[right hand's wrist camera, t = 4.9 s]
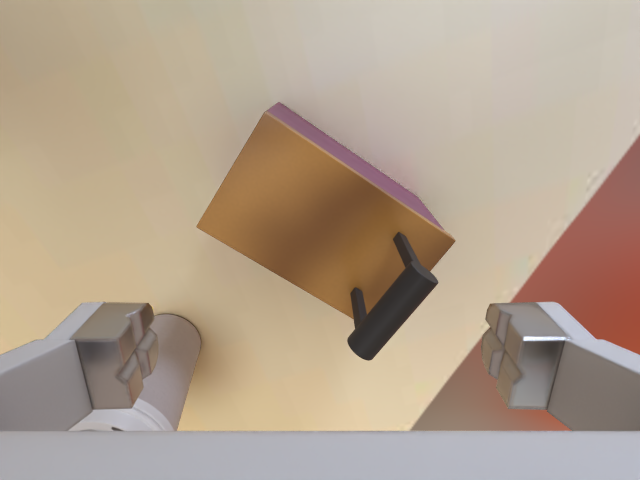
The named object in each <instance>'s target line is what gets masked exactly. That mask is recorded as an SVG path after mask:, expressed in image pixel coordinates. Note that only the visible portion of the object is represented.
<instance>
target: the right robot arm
mask: <svg viewBox="0 0 640 480" xmlns="http://www.w3.org/2000/svg"><path fill="white" fill-rule="evenodd" d="M153 321H154V314H153V310H152V307H151V306H150V304H149V303H120V302H107V303H106V302H86V303H81V304H80V305H79V306H78V307H77V308H76V309H75V310H74V311H73V312H72V313H71V314H70V315H69V316H68V317H67V318H66V319H65V320H64V321H63V322H61V323H60V324H59V325H58V326H57V327H56V328H55V329H54V330H53V331H52V332H51V333H50V334H49V335H48V336H47V337H46V338H45V339H44V340H35V341H32V342H30V343H27V344H25V345H23V346H20V347H18V348H16V349H13V350H11V351H8V352H6V353H4V354H1V355H0V480H640V355H639V354H636V353H634V352H632V351H629V350H627V349H624V348H622V347H620V346H617V345H615V344H612V343H610V342H608V341H605V340H596V339H595V338H594V337H593V336H592V335H591V334H590V333H589V332H588V331H587V330H586V329H585V328H584V327H583V326H582V325H581V324H580V323H579V322H578V321H576V320H575V319H574V318H573V317H572V316H571V315H570V314H569V313H568V312H567V311H566V310H565V309H564V308H563V307H562V306H561V305H560V304H558V303H555V302H529V303H494V304H490V305H489V307H488V309H487V314H486V321H487V322H488V324H489V325H490V328H489V329H488V330H487V331H486V332H485V333H484V334H483V337H482V345H481V350H482V359H483V363H484V366H485V368H486V370H487V372H488V374H489V375H491V376H493V377H494V378H496V379H497V386H496V388H497V390H498V392H499V393H500V395H501V397H502V399H503V400H504V402H505V404H506V405H507V407H508V409H538V410H547V412H548V413H550V414H551V415H552V416H554V417H555V418H556V419H558V420H559V421H560V422H562V423H563V424H564V425H565V426H567V427H568V428H569V429H571V430H572V431H68V430H69V429H71V428H72V427H73V426H75V425H76V424H77V423H79V422H80V421H81V420H83V419H84V418H85V417H87V416H88V415H89V414H90V413H92V412H93V410H103V409H132V407H133V406H134V404H135V402H136V400H137V399H138V397H139V395H140V393H141V392H142V390H143V388H144V386H143V379H144V378H146V377H148V376H149V375H151V374H152V372H153V370H154V368H155V366H156V363H157V358H158V354H159V343H158V337H157V334H156V333H155V332H154V331H153V330H152V329H151V328H150V325H151V324H152V322H153Z"/></svg>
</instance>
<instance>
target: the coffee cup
mask: <svg viewBox="0 0 640 480" xmlns="http://www.w3.org/2000/svg"><path fill="white" fill-rule="evenodd" d="M150 328H151V329H152V330H153V331H154V332H155V333H156V334H157V337H158V343H159V354H158V358H157V363H156V366H155V368H154V370H153V372H152V374H151V375H149V376H148V377H146V378H144V379H143V386H144V388H143V390H142V392H141V393H140V395H139V397H138V399H137V400H136V402H135V404H134V406H133V407H132V409H103V410H93V412H92V413H90V414H89V415H88V416H87V417H85V418H84V419H83V420H81V421H80V422H79V423H77V424H76V425H75V426H73V427H72V428H71V429H69V430H68V431H177V428H178V425H179V421H180V418H181V414H182V411H183V407H184V404H185V400H186V397H187V393H188V390H189V386H190V383H191V379H192V376H193V372H194V369H195V365H196V362H197V359H198V355H199V352H200V348H201V339H200V336H199V333H198V331H197V330H196V328H195V327H194V326H193V325H192V324H191V323H190V322H188V321H187V320H185V319H183V318H181V317H179V316H176V315H170V314H162V315H157V316H154V321H153V322H152V324H151V325H150Z"/></svg>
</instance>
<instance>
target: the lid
mask: <svg viewBox="0 0 640 480" xmlns="http://www.w3.org/2000/svg"><path fill="white" fill-rule="evenodd" d="M197 228H199V229H201V230H202V231H204V232H206V233H207V234H209V235H211V236H212V237H214V238H216V239H218V240H219V241H221V242H223V243H224V244H226V245H228V246H230V247H231V248H233V249H235V250H236V251H238V252H240V253H242V254H243V255H245V256H247V257H248V258H250V259H252V260H253V261H255V262H257V263H259V264H260V265H262V266H264V267H265V268H267V269H269V270H271V271H272V272H274V273H276V274H277V275H279V276H281V277H283V278H284V279H286V280H288V281H289V282H291V283H293V284H294V285H296V286H298V287H300V288H301V289H303V290H305V291H306V292H308V293H310V294H312V295H313V296H315V297H317V298H318V299H320V300H322V301H324V302H325V303H327V304H329V305H330V306H332V307H334V308H335V309H337V310H339V311H341V312H342V313H344V314H346V315H347V316H349V317H351V318H353V319H354V324H355V330H354V331H353V332H352V334H351V335H350V336H349V337H348V340H347V341H348V344H349V346H350V348H351V349H352V351H353V352H354V353H355V354H357V355H358V356H359V357H361V358H362V359H365V360H372V359H373V358H374V357H375V355H376V354H377V353H378V352H379V351H380V350H381V349H382V347H383V346H384V345H385V344H386V343H387V342H388V340H389V339H390V338H391V337H392V336H393V335H394V334H395V332H396V331H397V330H398V329H399V328H400V327H401V325H402V324H403V323H404V322H405V321H406V320H407V319H408V317H409V316H410V315H411V314H412V313H413V312H414V310H415V309H416V308H417V307H418V306H419V305H420V304H421V302H422V301H423V300H424V299H425V298H426V297H427V295H428V294H429V293H430V292H431V291H432V290H433V289H434V287H435V286H436V285H437V284H438V280H437V279H436V277H435V276H434V275H433V274H432V273H431V272H430V271H431V269H432V268H433V267H434V266H435V265H436V264H437V262H438V261H439V260H440V259H441V258H442V257H443V255H444V254H445V253H446V252H447V251H448V249H449V248H450V247H451V246H452V245H453V244H454V242H455V239H454V238H453V237H452V236H451V235H450V234H449V233H447V232H446V231H444V230H443V229H441V228H440V227H438V226H437V225H435V224H434V223H432V222H431V221H429V220H428V219H427V218H425V217H424V216H422V215H421V214H419V213H418V212H416V211H415V210H413V209H412V208H410V207H409V206H407V205H406V204H404V203H403V202H401V201H400V200H398V199H397V198H395V197H394V196H393V195H391V194H390V193H388V192H387V191H385V190H384V189H382V188H381V187H379V186H378V185H376V184H375V183H373V182H372V181H370V180H369V179H367V178H366V177H364V176H363V175H361V174H360V173H359V172H357V171H356V170H354V169H353V168H351V167H350V166H348V165H347V164H345V163H344V162H342V161H341V160H339V159H338V158H336V157H335V156H333V155H332V154H330V153H329V152H328V151H326V150H325V149H323V148H322V147H320V146H319V145H317V144H316V143H314V142H313V141H311V140H310V139H308V138H307V137H305V136H304V135H302V134H301V133H299V132H298V131H296V130H295V129H294V128H292V127H291V126H289V125H288V124H286V123H285V122H283V121H282V120H280V119H279V118H277V117H276V116H274V115H273V114H271V113H270V112H268V111H266V112H264V114H263V116H262V117H261V119H260V121H259V122H258V124H257V126H256V127H255V129H254V131H253V132H252V134H251V136H250V137H249V139H248V141H247V142H246V144H245V146H244V147H243V149H242V151H241V152H240V154H239V156H238V157H237V159H236V161H235V163H234V164H233V166H232V168H231V169H230V171H229V173H228V174H227V176H226V178H225V179H224V181H223V183H222V184H221V186H220V188H219V189H218V191H217V193H216V194H215V196H214V198H213V199H212V201H211V203H210V204H209V206H208V208H207V210H206V211H205V213H204V215H203V216H202V218H201V220H200V221H199V223H198V225H197Z"/></svg>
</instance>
